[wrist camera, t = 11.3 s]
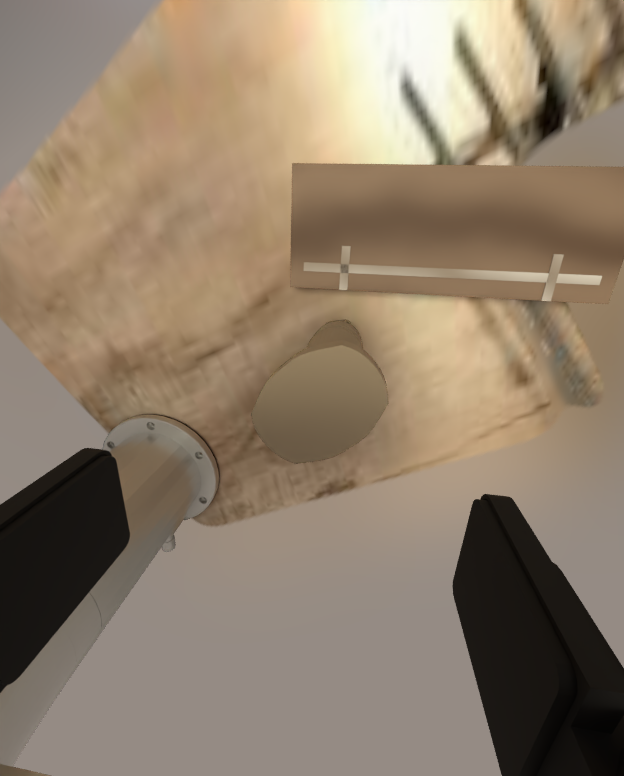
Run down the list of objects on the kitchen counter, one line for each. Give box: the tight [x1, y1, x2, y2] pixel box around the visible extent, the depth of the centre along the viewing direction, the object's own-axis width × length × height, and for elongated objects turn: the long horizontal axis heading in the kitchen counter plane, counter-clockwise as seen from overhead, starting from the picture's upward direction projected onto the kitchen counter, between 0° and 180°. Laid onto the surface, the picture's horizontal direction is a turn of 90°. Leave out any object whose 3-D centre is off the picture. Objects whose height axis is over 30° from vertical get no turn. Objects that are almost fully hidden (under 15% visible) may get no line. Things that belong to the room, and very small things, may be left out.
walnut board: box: [290, 163, 624, 304], centre depth 24 cm, size 8×22×3 cm, turn 87°
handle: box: [251, 320, 388, 464], centre depth 22 cm, size 5×6×15 cm
